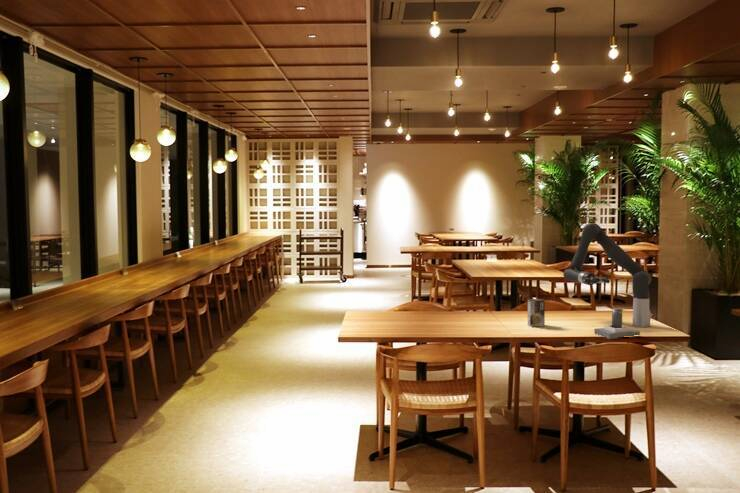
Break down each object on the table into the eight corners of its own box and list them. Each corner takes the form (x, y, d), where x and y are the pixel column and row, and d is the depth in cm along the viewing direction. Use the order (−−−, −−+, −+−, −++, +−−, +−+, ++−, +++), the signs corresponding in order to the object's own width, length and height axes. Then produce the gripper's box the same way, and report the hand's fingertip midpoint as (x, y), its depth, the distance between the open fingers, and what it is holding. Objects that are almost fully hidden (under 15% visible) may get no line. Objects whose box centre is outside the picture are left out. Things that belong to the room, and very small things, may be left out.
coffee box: (541, 324, 427) (542, 298, 425) (544, 326, 420) (545, 300, 419) (527, 324, 427) (527, 298, 425) (529, 326, 420) (530, 300, 419)
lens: (617, 328, 399) (618, 308, 398) (623, 330, 394) (624, 309, 393) (609, 329, 397) (610, 308, 396) (615, 331, 392) (616, 310, 391)
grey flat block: (623, 331, 405) (624, 323, 405) (639, 336, 392) (639, 327, 391) (594, 333, 400) (594, 325, 399) (609, 338, 386) (609, 330, 386)
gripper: (576, 272, 427) (592, 275, 411) (596, 271, 431) (613, 275, 415) (576, 284, 427) (592, 288, 412) (596, 283, 431) (612, 287, 416)
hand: (602, 281), depth 414 cm, fingers open, 8 cm apart
